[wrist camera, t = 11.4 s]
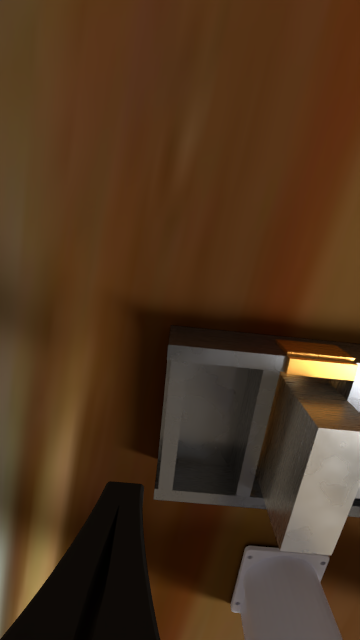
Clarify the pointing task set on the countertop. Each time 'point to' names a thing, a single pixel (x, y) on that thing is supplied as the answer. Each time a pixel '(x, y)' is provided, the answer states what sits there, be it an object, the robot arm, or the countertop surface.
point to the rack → (234, 408)
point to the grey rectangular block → (309, 464)
